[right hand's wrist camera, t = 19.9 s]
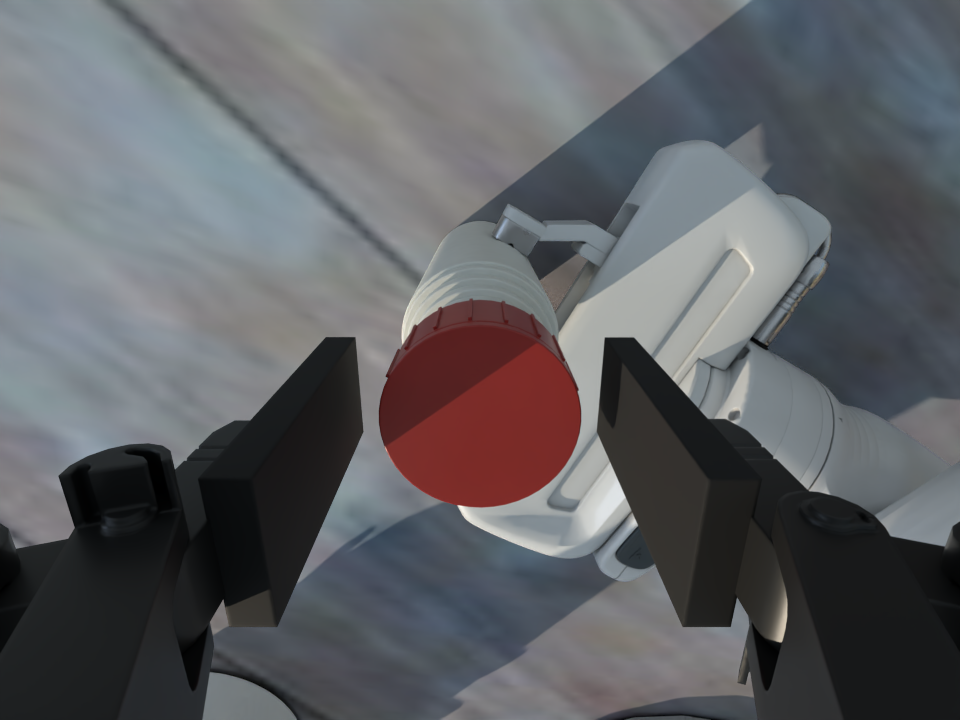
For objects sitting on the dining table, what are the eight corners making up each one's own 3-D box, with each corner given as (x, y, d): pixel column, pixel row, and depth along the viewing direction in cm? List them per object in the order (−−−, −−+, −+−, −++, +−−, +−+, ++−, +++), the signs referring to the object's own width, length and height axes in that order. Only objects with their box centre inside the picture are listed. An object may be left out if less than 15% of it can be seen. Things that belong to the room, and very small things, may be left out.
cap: (477, 258, 13) (477, 277, 11) (603, 382, 14) (626, 422, 12) (356, 382, 14) (333, 423, 12) (481, 487, 15) (482, 542, 13)
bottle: (434, 311, 31) (373, 502, 13) (433, 219, 29) (362, 300, 12) (523, 313, 31) (581, 507, 13) (528, 221, 29) (602, 305, 12)
